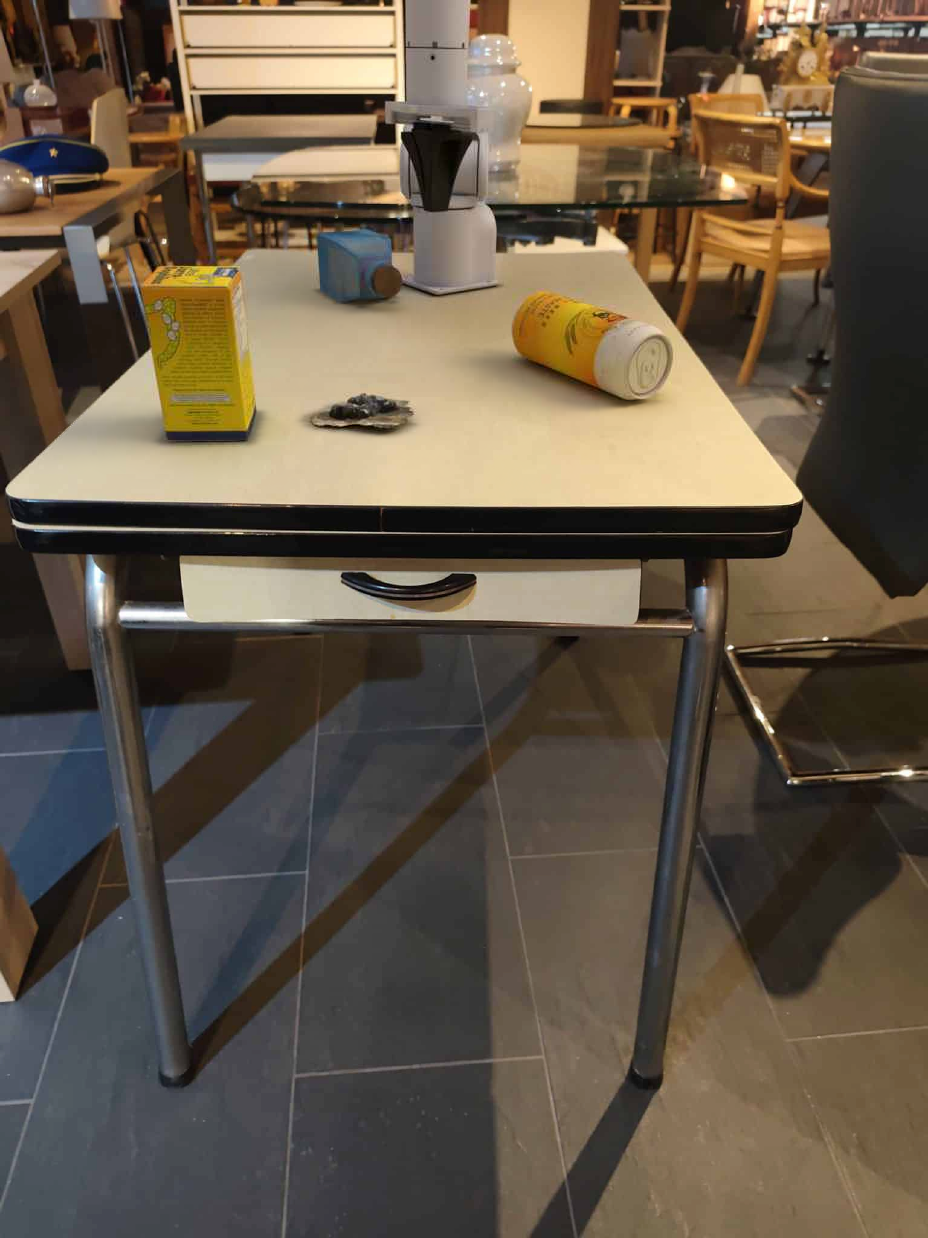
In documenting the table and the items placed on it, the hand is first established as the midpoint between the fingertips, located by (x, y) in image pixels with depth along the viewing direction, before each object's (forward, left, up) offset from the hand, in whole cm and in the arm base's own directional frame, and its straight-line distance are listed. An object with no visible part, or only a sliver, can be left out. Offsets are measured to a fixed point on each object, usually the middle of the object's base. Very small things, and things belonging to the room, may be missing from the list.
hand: (435, 210), depth 88 cm
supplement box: (+33, +16, -11) cm, 38 cm away
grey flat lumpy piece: (+23, +21, -11) cm, 33 cm away
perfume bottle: (+1, -16, -7) cm, 18 cm away
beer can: (+1, +16, -7) cm, 17 cm away
